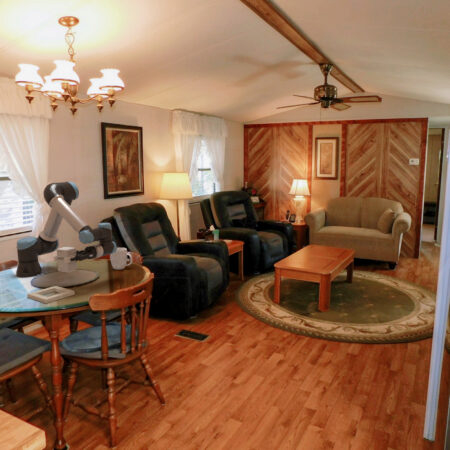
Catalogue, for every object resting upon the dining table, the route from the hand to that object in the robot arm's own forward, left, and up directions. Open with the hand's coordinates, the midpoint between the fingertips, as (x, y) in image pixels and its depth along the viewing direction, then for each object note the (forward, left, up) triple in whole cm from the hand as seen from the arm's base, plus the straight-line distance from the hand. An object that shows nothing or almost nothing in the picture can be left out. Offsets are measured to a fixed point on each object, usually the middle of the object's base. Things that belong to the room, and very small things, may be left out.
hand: (59, 259), depth 229 cm
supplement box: (0, +5, -7) cm, 9 cm away
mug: (-13, +53, -19) cm, 58 cm away
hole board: (0, -6, -19) cm, 20 cm away
